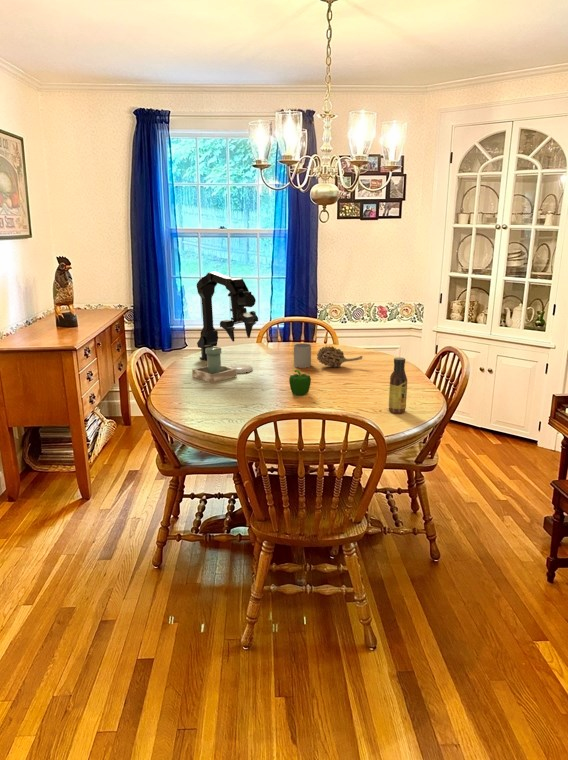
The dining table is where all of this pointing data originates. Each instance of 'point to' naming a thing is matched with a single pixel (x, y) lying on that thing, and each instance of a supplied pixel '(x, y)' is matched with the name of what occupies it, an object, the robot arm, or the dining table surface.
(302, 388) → the bell pepper
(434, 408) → the dining table surface
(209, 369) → the flower pot
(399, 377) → the sauce bottle
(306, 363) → the cup
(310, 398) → the dining table surface
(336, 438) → the dining table surface
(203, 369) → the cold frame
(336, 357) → the pine cone
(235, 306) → the robot arm
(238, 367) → the saucer
